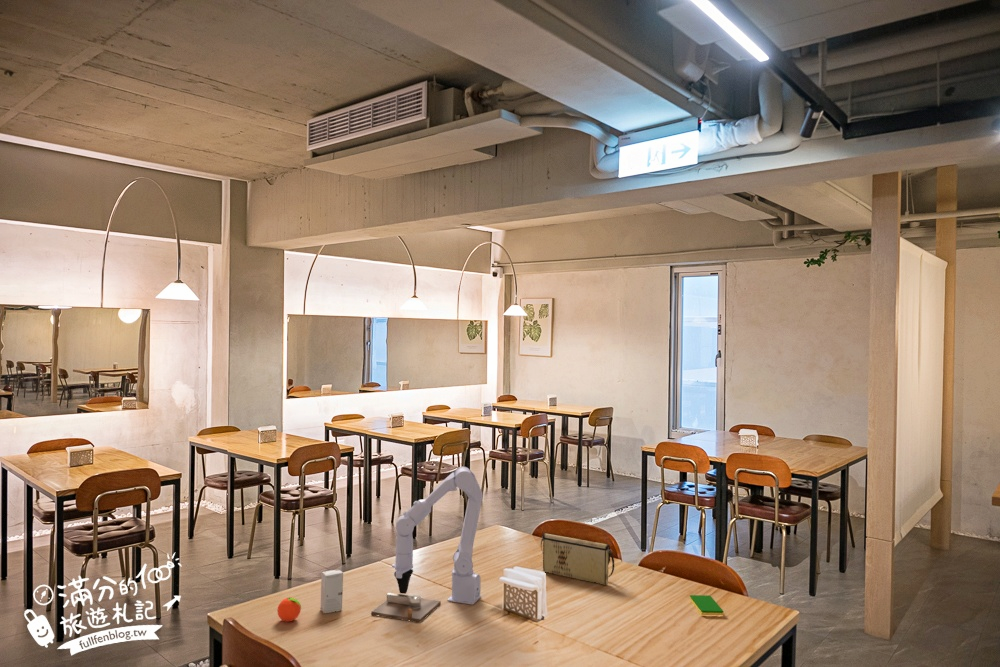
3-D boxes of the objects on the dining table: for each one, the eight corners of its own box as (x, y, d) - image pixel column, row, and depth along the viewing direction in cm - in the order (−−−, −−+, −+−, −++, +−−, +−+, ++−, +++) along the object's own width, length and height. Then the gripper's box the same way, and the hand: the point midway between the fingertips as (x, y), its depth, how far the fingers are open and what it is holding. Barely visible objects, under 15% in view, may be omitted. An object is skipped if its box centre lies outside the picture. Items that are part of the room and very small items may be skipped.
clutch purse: (617, 582, 246) (617, 541, 246) (609, 587, 240) (610, 546, 240) (545, 567, 261) (546, 528, 262) (537, 572, 255) (537, 533, 256)
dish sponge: (710, 602, 228) (710, 595, 228) (723, 618, 215) (723, 611, 215) (689, 601, 228) (689, 594, 228) (701, 618, 215) (701, 610, 215)
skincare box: (324, 614, 212) (325, 575, 212) (319, 609, 215) (320, 571, 216) (343, 610, 215) (343, 572, 215) (338, 605, 219) (339, 568, 219)
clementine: (308, 618, 208) (308, 595, 208) (294, 627, 202) (294, 603, 202) (286, 614, 211) (287, 592, 211) (272, 623, 204) (272, 600, 204)
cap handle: (422, 603, 218) (422, 596, 218) (417, 607, 215) (417, 600, 215) (390, 598, 222) (390, 591, 222) (385, 602, 218) (385, 595, 218)
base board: (440, 604, 222) (440, 594, 222) (419, 622, 206) (419, 612, 206) (394, 597, 227) (394, 587, 227) (371, 615, 212) (371, 604, 212)
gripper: (398, 545, 232) (397, 584, 232) (386, 558, 218) (385, 600, 218) (417, 546, 232) (417, 585, 231) (408, 559, 217) (407, 601, 217)
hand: (403, 592), depth 224 cm, fingers closed
